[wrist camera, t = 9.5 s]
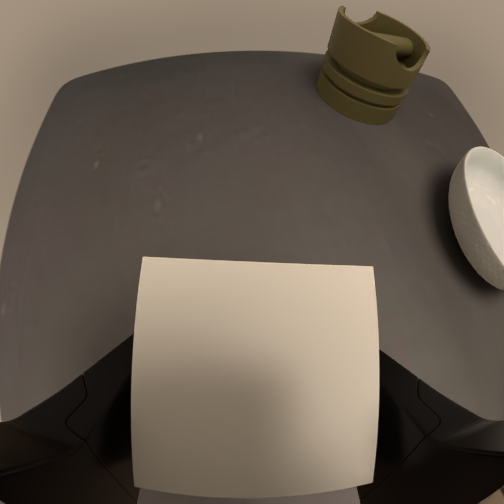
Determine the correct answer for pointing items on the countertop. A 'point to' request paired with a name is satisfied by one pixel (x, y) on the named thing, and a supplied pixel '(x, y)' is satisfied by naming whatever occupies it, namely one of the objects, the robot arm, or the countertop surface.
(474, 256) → the cereal bowl
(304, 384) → the plug
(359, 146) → the countertop surface
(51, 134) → the countertop surface
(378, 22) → the piston
